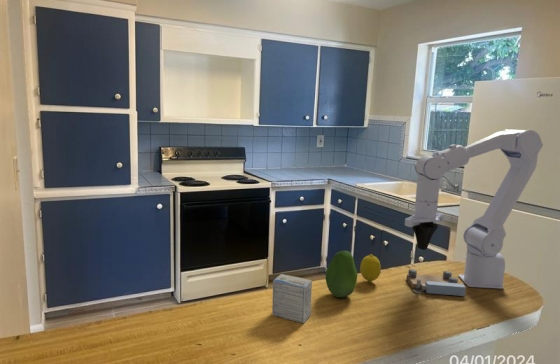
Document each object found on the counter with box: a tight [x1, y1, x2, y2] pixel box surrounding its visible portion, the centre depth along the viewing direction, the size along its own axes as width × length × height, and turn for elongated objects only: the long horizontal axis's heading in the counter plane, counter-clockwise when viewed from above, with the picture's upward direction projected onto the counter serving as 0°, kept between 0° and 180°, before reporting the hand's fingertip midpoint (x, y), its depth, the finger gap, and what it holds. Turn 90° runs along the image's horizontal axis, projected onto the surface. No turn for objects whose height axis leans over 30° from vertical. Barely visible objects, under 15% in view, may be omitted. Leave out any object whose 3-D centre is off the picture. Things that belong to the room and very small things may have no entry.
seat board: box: [406, 268, 458, 290], centre depth 111 cm, size 12×7×3 cm, turn 86°
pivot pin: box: [412, 279, 424, 295], centre depth 106 cm, size 3×3×3 cm
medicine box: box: [271, 273, 313, 324], centre depth 91 cm, size 8×4×9 cm, turn 65°
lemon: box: [359, 253, 382, 283], centre depth 111 cm, size 6×6×8 cm
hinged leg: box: [421, 281, 466, 297], centre depth 106 cm, size 11×2×2 cm, turn 83°
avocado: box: [325, 250, 358, 299], centre depth 101 cm, size 8×8×12 cm
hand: (422, 248), depth 111 cm, fingers closed
